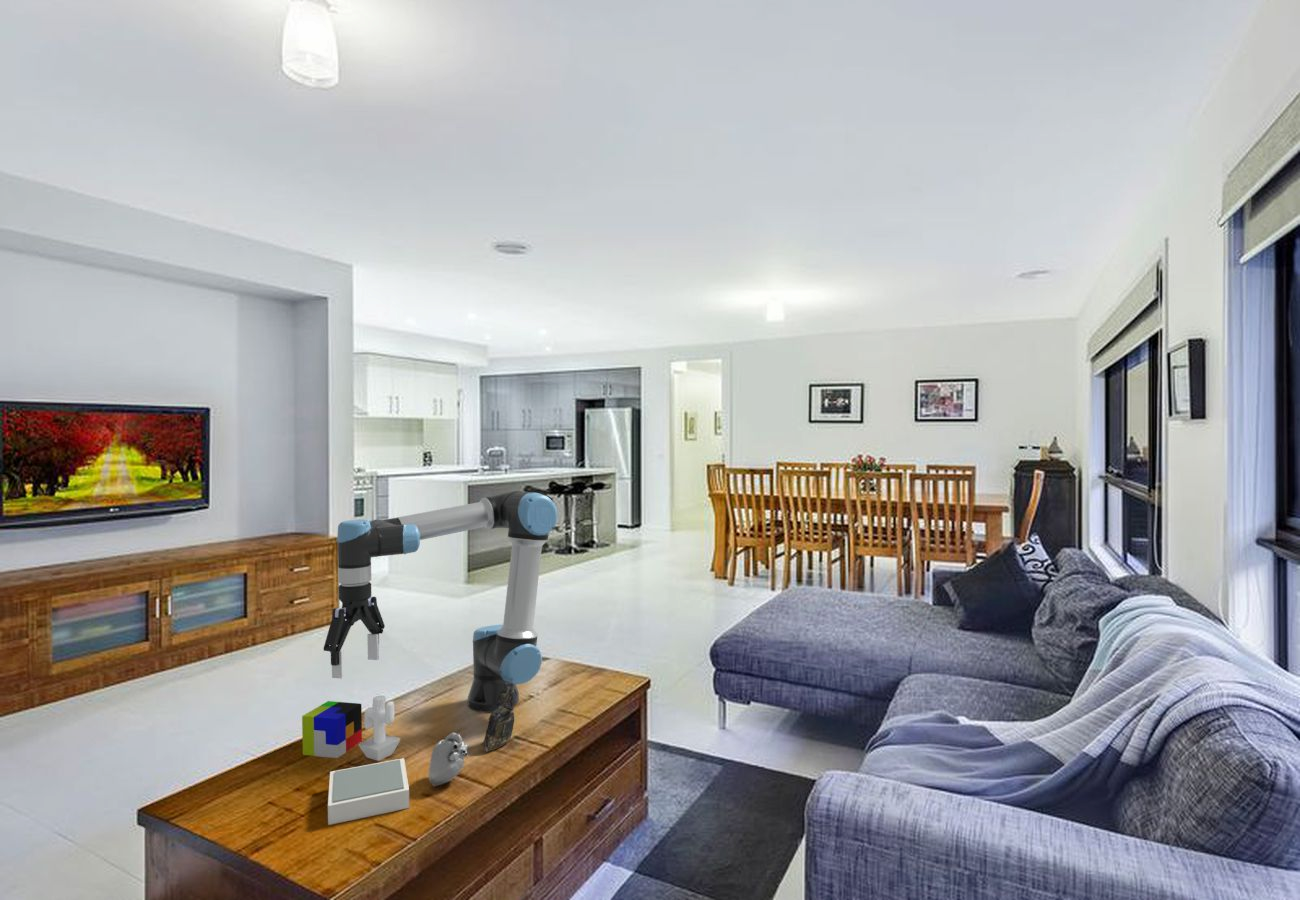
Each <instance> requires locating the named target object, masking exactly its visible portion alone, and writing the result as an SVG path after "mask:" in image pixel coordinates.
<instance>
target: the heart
mask: <svg viewBox="0 0 1300 900" xmlns="http://www.w3.org/2000/svg"><path fill="white" fill-rule="evenodd" d="M437 742H438V743H436V744H435V745H434V748H433V750H432V752H431V756H430V763H429V768H428V780H429V783H431V784H432V786H433V787H438V786H441V785H443V784H446V783H448V782H450V781H452V780H453V779H454V778H455V777H457V776H458V775H459V774H460V772H461V770H462V768H463V767H464V765H465V758H466V757H468V754H469V753H468V747H469V746H468V744H467V743H466V742H465V741H463V737H462V736H461V735H460V733H456V732H455V731H454V732H450V734H448V735H447V736H446V737H445V739H441V740H439V741H437Z"/></svg>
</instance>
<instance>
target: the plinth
mask: <svg viewBox="0 0 1300 900" xmlns="http://www.w3.org/2000/svg"><path fill="white" fill-rule="evenodd" d="M328 785H329V786H328V797H327V824H328V826H330V825H335V824H339V823H345V822H349V821H354V820H359V819H363V818H369V817H372V816H378V815H382V814H386V813H392V812H397V811H402V810H406V809H409V808H410V788H409V781H408V773H407V767H406V761H405V757H403V758H397V759H391V760H386V761H381V762H377V763H369V764H365V765H360V766H353V767H349V768H343V769H337V770H333V771H329V784H328Z"/></svg>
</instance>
